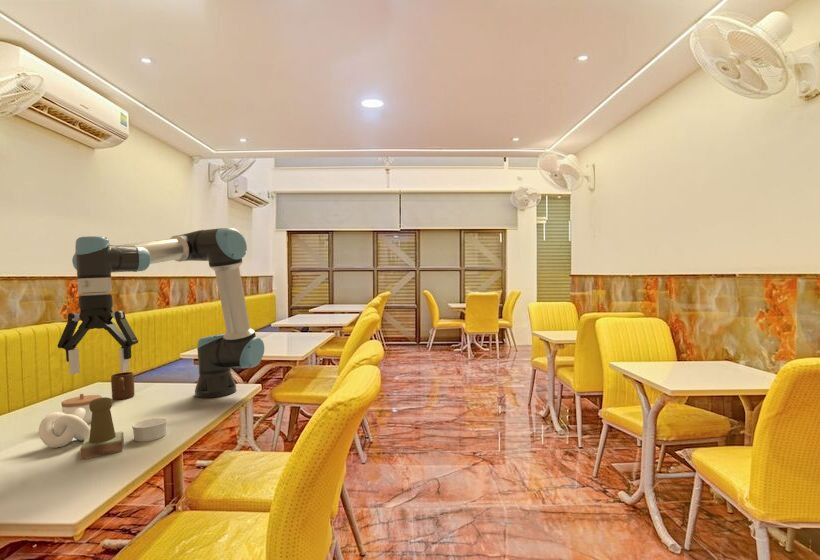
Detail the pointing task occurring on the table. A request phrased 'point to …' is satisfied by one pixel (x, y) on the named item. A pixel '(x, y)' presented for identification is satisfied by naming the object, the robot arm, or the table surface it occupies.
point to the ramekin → (149, 429)
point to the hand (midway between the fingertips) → (99, 372)
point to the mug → (122, 385)
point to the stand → (102, 446)
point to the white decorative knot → (63, 428)
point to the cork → (101, 420)
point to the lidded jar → (79, 405)
